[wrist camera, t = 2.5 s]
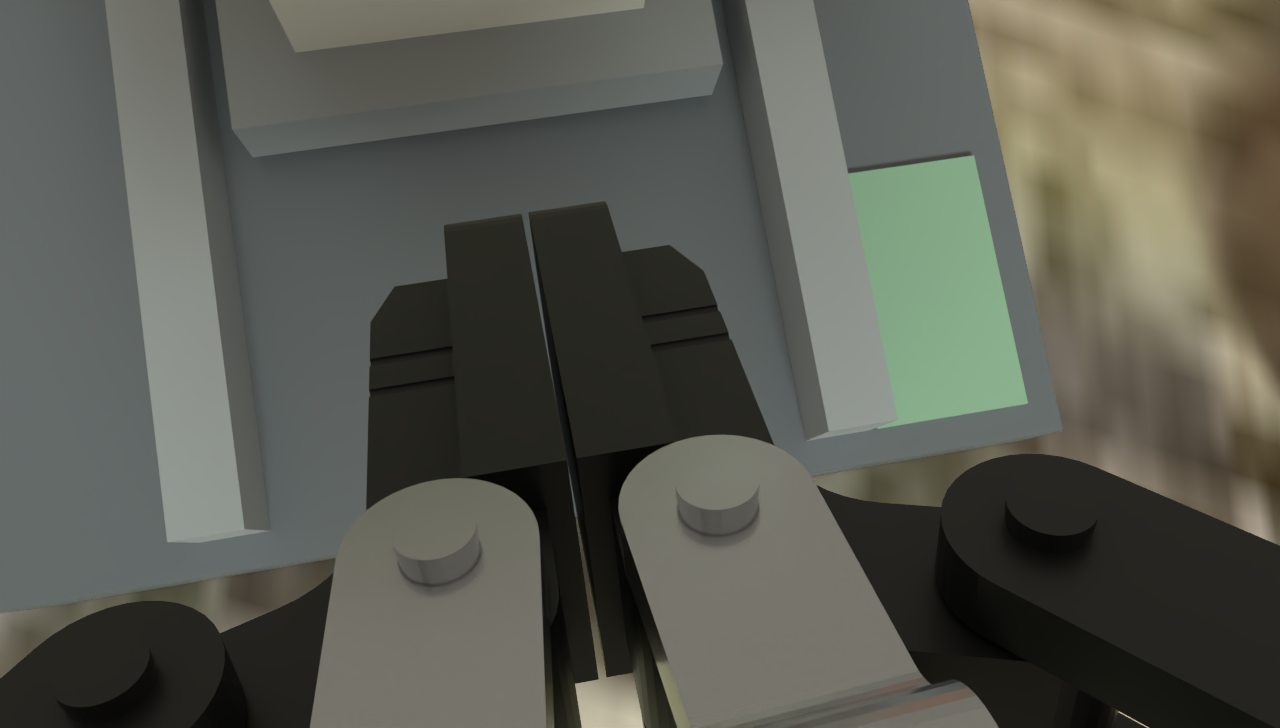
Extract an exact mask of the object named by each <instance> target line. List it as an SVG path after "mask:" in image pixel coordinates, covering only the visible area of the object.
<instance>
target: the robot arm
mask: <svg viewBox="0 0 1280 728" xmlns="http://www.w3.org/2000/svg"><path fill="white" fill-rule="evenodd" d="M529 222H530V229H531V237H532V243H533V250H534V257H535V264H536V271H537V278H538V285H539V291H540V298H541V305H542V312H543V319H544V326H545V333H546V339H547V346H548V353H549V359H548V354H547V348H546V343H545V338H544V332H543V327H542V321H541V316H540V310H539V305H538V299H537V294H536V289H535V283H534V278H533V272H532V267H531V261H530V256H529V250H528V245H527V240H526V234H525V229H524V223H523V218H522V214H515V215H508V216H501V217H494V218H487V219H481V220H474V221H467V222H460V223H453V224H446V225H444V239H445V252H446V266H447V279H441V280H434V281H428V282H421V283H415V284H408V285H401V286H395V287H394V288H393V289H392V291H391V292H390V294H389V295H388V297H387V298H386V300H385V301H384V303H383V304H382V306H381V307H380V309H379V310H378V312H377V313H376V315H375V316H374V318H373V319H372V321H371V322H370V363H371V366H369V392H370V397H369V407H368V450H367V493H366V511H365V512H364V513H363V514H362V515H361V516H360V517H359V518H358V519H357V520H356V521H355V522H354V523H353V525H352V526H351V527H350V529H349V530H348V531H347V533H346V534H345V536H344V538H343V540H342V542H341V544H340V546H339V549H338V553H337V557H336V561H335V568H334V573H333V574H332V575H331V576H330V577H329V578H327V579H326V580H325V581H323V582H322V583H321V584H320V585H318V586H317V587H316V588H315V589H313V590H311V591H310V592H308V593H307V594H305V595H303V596H302V597H300V598H299V599H297V600H295V601H293V602H291V603H289V604H287V605H285V606H282V607H280V608H278V609H276V610H274V611H271V612H269V613H267V614H264V615H262V616H260V617H257V618H255V619H253V620H250V621H248V622H246V623H243V624H241V625H239V626H236V627H234V628H232V629H229V630H227V631H225V632H222V633H219V632H218V630H217V628H216V627H215V625H214V624H213V623H212V622H211V621H210V620H209V619H208V618H207V617H206V616H205V615H203V614H202V613H200V612H198V611H197V610H195V609H193V608H191V607H188V606H185V605H182V604H178V603H172V602H165V601H141V602H134V603H127V604H122V605H118V606H114V607H111V608H107V609H104V610H101V611H99V612H96V613H93V614H91V615H88V616H86V617H84V618H82V619H80V620H78V621H76V622H74V623H72V624H70V625H68V626H66V627H65V628H63V629H62V630H60V631H58V632H57V633H55V634H54V635H52V636H51V637H49V638H48V639H47V640H46V641H44V642H43V643H42V644H40V645H39V646H38V647H37V648H35V649H34V650H33V651H32V652H31V653H30V654H28V655H27V656H26V657H25V658H24V659H23V660H21V661H20V662H19V663H18V664H17V665H16V666H15V667H13V668H12V669H11V670H10V671H9V672H8V673H7V674H5V675H4V676H3V677H2V678H1V679H0V728H582V727H581V720H580V714H579V708H578V701H577V695H576V688H575V683H581V682H586V681H592V680H597V679H598V672H597V665H596V658H595V651H594V644H593V637H592V630H591V623H590V616H589V609H588V602H587V595H586V589H585V582H584V575H583V568H582V561H581V554H580V547H579V540H578V533H577V526H576V519H575V512H574V505H573V498H572V491H573V496H574V502H575V507H576V512H577V518H578V523H579V529H580V534H581V540H582V545H583V551H584V556H585V561H586V567H587V572H588V578H589V583H590V589H591V594H592V600H593V605H594V611H595V616H596V621H597V627H598V632H599V638H600V643H601V649H602V654H603V660H604V665H605V670H606V676H607V677H611V676H616V675H622V674H627V673H632V672H633V674H634V679H635V684H636V689H637V694H638V698H639V703H640V708H641V713H642V722H643V728H1146V727H1144V726H1142V725H1140V724H1139V723H1137V722H1135V721H1133V720H1131V719H1129V718H1128V717H1126V716H1124V715H1122V714H1120V713H1118V711H1120V712H1122V713H1124V714H1126V715H1127V716H1129V717H1131V718H1133V719H1135V720H1137V721H1138V722H1140V723H1142V724H1144V725H1146V726H1148V727H1149V728H1280V546H1279V545H1276V544H1274V543H1272V542H1269V541H1267V540H1265V539H1262V538H1260V537H1258V536H1255V535H1253V534H1251V533H1248V532H1246V531H1244V530H1241V529H1239V528H1237V527H1234V526H1232V525H1230V524H1227V523H1225V522H1223V521H1220V520H1218V519H1216V518H1213V517H1211V516H1209V515H1206V514H1204V513H1202V512H1199V511H1197V510H1195V509H1192V508H1190V507H1188V506H1185V505H1183V504H1181V503H1178V502H1176V501H1174V500H1171V499H1169V498H1167V497H1164V496H1162V495H1160V494H1157V493H1155V492H1153V491H1150V490H1148V489H1146V488H1143V487H1141V486H1139V485H1136V484H1134V483H1132V482H1129V481H1127V480H1125V479H1122V478H1120V477H1118V476H1115V475H1113V474H1111V473H1108V472H1106V471H1104V470H1101V469H1099V468H1097V467H1094V466H1091V465H1088V464H1086V463H1083V462H1080V461H1076V460H1072V459H1068V458H1064V457H1059V456H1052V455H1044V454H1019V455H1008V456H1004V457H999V458H994V459H991V460H988V461H985V462H983V463H980V464H978V465H976V466H974V467H972V468H970V469H969V470H967V471H965V472H964V473H963V474H962V475H960V476H959V477H958V478H957V479H956V480H955V481H954V482H953V483H952V485H951V486H950V487H949V489H948V490H947V492H946V495H945V497H944V499H943V502H942V507H931V506H917V505H903V504H889V503H878V502H870V501H862V500H858V499H853V498H849V497H845V496H842V495H839V494H836V493H833V492H830V491H828V490H826V489H823V488H821V487H819V486H817V485H816V484H815V482H814V480H813V478H812V477H811V476H810V474H809V473H808V471H807V470H806V468H805V467H804V466H803V465H802V464H801V463H800V462H799V461H798V460H797V459H796V458H794V457H793V456H791V455H790V454H788V453H787V452H785V451H784V450H782V449H780V448H778V447H776V446H775V445H774V443H773V441H772V438H771V436H770V433H769V431H768V428H767V426H766V423H765V421H764V418H763V416H762V413H761V411H760V408H759V406H758V404H757V401H756V399H755V396H754V394H753V391H752V389H751V386H750V384H749V381H748V379H747V376H746V374H745V371H744V369H743V366H742V364H741V362H740V359H739V357H738V354H737V352H736V349H735V347H734V344H733V342H732V339H731V340H730V338H729V332H728V329H727V327H726V324H725V322H724V320H723V317H722V315H721V312H720V311H718V306H717V302H716V300H715V297H714V295H713V292H712V290H711V287H710V285H709V282H708V280H707V278H706V275H705V273H704V271H703V270H702V269H701V268H700V267H698V266H697V265H696V264H694V263H693V262H692V261H690V260H689V259H688V258H686V257H685V256H684V255H682V254H681V253H680V252H678V251H677V250H676V249H675V248H673V247H672V246H671V245H665V246H658V247H652V248H645V249H638V250H632V251H625V252H622V251H621V248H620V245H619V241H618V238H617V235H616V232H615V228H614V225H613V222H612V219H611V215H610V212H609V209H608V206H607V203H606V201H602V202H595V203H588V204H581V205H574V206H568V207H561V208H554V209H547V210H540V211H533V212H529ZM549 360H550V365H549ZM550 366H551V370H550ZM551 372H552V376H551ZM552 379H553V381H552ZM553 385H554V387H553ZM554 391H555V392H554ZM555 397H556V398H555ZM567 463H568V464H567ZM568 469H569V471H568ZM569 474H570V477H569ZM570 480H571V484H570ZM571 485H572V491H571Z"/></svg>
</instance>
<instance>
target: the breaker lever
mask: <svg viewBox="0 0 1280 728" xmlns="http://www.w3.org/2000/svg"><path fill="white" fill-rule="evenodd" d="M215 1H216V9H217V16H218V24H219V32H220V40H221V47H222V55H223V63H224V71H225V78H226V86H227V94H228V102H229V110H230V117H231V125H232V130H233V132H234V133H235V134H236V136H237V137H238V138H239V140H240V141H241V142H242V144H243V145H244V146H245V148H246V149H247V150H248V152H249V153H250V154H251V155H252V157H260V156H268V155H275V154H282V153H289V152H297V151H304V150H311V149H319V148H326V147H333V146H341V145H348V144H355V143H363V142H370V141H377V140H385V139H392V138H399V137H406V136H414V135H421V134H428V133H436V132H443V131H450V130H458V129H465V128H472V127H480V126H487V125H494V124H501V123H509V122H516V121H523V120H531V119H538V118H545V117H553V116H560V115H567V114H575V113H582V112H589V111H597V110H604V109H611V108H618V107H626V106H633V105H640V104H648V103H655V102H662V101H670V100H677V99H684V98H692V97H699V96H706V95H712V93H713V90H714V88H715V85H716V82H717V79H718V76H719V74H720V71H721V68H722V65H723V61H722V55H721V50H720V45H719V40H718V34H717V29H716V24H715V18H714V13H713V8H712V3H711V0H215Z"/></svg>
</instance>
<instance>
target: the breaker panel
mask: <svg viewBox="0 0 1280 728" xmlns="http://www.w3.org/2000/svg"><path fill="white" fill-rule="evenodd" d="M711 3H712V8H713V13H714V18H715V24H716V29H717V34H718V40H719V45H720V50H721V55H722V61H723V65H722V68H721V71H720V74H719V76H718V79H717V82H716V85H715V88H714V90H713V93H712V95H706V96H699V97H692V98H684V99H677V100H670V101H662V102H655V103H648V104H640V105H633V106H626V107H618V108H611V109H604V110H597V111H589V112H582V113H575V114H567V115H560V116H553V117H545V118H538V119H531V120H523V121H516V122H509V123H501V124H494V125H487V126H480V127H472V128H465V129H458V130H450V131H443V132H436V133H428V134H421V135H414V136H406V137H399V138H392V139H385V140H377V141H370V142H363V143H355V144H348V145H341V146H333V147H326V148H319V149H311V150H304V151H297V152H289V153H282V154H275V155H268V156H260V157H252V155H251V154H250V153H249V152H248V150H247V149H246V148H245V146H244V145H243V144H242V142H241V141H240V140H239V138H238V137H237V136H236V134H235V133H234V132H233V130H232V125H231V117H230V110H229V102H228V94H227V86H226V78H225V71H224V63H223V55H222V47H221V40H220V32H219V24H218V16H217V9H216V1H215V0H0V613H4V612H13V611H21V610H30V609H38V608H46V607H52V606H58V605H64V604H70V603H76V602H81V601H87V600H93V599H99V598H105V597H111V596H116V595H122V594H128V593H134V592H140V591H146V590H152V589H157V588H163V587H169V586H175V585H181V584H187V583H193V582H198V581H204V580H210V579H216V578H222V577H228V576H233V575H239V574H245V573H251V572H257V571H263V570H269V569H274V568H280V567H286V566H292V565H298V564H304V563H309V562H315V561H321V560H327V559H333V558H336V557H337V553H338V549H339V546H340V544H341V542H342V540H343V538H344V536H345V534H346V533H347V531H348V530H349V529H350V527H351V526H352V525H353V523H354V522H355V521H356V520H357V519H358V518H359V517H360V516H361V515H362V514H363V513H364V512H365V511H366V493H367V450H368V407H369V397H370V392H369V366H371V363H370V322H371V321H372V319H373V318H374V316H375V315H376V313H377V312H378V310H379V309H380V307H381V306H382V304H383V303H384V301H385V300H386V298H387V297H388V295H389V294H390V292H391V291H392V289H393V288H394V287H395V286H401V285H408V284H415V283H421V282H428V281H434V280H441V279H447V266H446V252H445V239H444V225H446V224H453V223H460V222H467V221H474V220H481V219H487V218H494V217H501V216H508V215H515V214H522V218H523V223H524V229H525V234H526V240H527V245H528V250H529V256H530V261H531V267H532V272H533V278H534V283H535V289H536V294H537V299H538V305H539V310H540V316H541V321H542V327H543V332H544V338H545V343H546V348H547V354H548V359H549V353H548V346H547V339H546V333H545V326H544V319H543V312H542V305H541V298H540V291H539V285H538V278H537V271H536V264H535V257H534V250H533V243H532V237H531V229H530V222H529V212H533V211H540V210H547V209H554V208H561V207H568V206H574V205H581V204H588V203H595V202H602V201H606V203H607V206H608V209H609V212H610V215H611V219H612V222H613V225H614V228H615V232H616V235H617V238H618V241H619V245H620V248H621V251H622V252H625V251H632V250H638V249H645V248H652V247H658V246H665V245H671V246H672V247H673V248H675V249H676V250H677V251H678V252H680V253H681V254H682V255H684V256H685V257H686V258H688V259H689V260H690V261H692V262H693V263H694V264H696V265H697V266H698V267H700V268H701V269H702V270H703V271H704V273H705V275H706V278H707V280H708V282H709V285H710V287H711V290H712V292H713V295H714V297H715V300H716V302H717V306H718V311H720V312H721V315H722V317H723V320H724V322H725V324H726V327H727V329H728V332H729V338H730V340H731V339H732V342H733V344H734V347H735V349H736V352H737V354H738V357H739V359H740V362H741V364H742V366H743V369H744V371H745V374H746V376H747V379H748V381H749V384H750V386H751V389H752V391H753V394H754V396H755V399H756V401H757V404H758V406H759V408H760V411H761V413H762V416H763V418H764V421H765V423H766V426H767V428H768V431H769V433H770V436H771V438H772V441H773V443H774V445H775V446H776V447H778V448H780V449H782V450H784V451H785V452H787V453H788V454H790V455H791V456H793V457H794V458H796V459H797V460H798V461H799V462H800V463H801V464H802V465H803V466H804V467H805V468H806V470H807V471H808V473H809V474H810V476H811V477H812V476H818V475H824V474H830V473H836V472H842V471H848V470H853V469H859V468H865V467H871V466H877V465H883V464H888V463H894V462H900V461H906V460H912V459H918V458H924V457H929V456H935V455H941V454H947V453H953V452H959V451H964V450H970V449H976V448H982V447H988V446H994V445H1000V444H1005V443H1011V442H1016V441H1021V440H1025V439H1029V438H1034V437H1038V436H1042V435H1047V434H1051V433H1056V432H1060V431H1063V427H1062V423H1061V418H1060V414H1059V409H1058V405H1057V400H1056V396H1055V391H1054V387H1053V382H1052V378H1051V373H1050V369H1049V364H1048V360H1047V355H1046V351H1045V346H1044V341H1043V337H1042V332H1041V328H1040V323H1039V319H1038V314H1037V310H1036V305H1035V301H1034V296H1033V292H1032V287H1031V283H1030V278H1029V274H1028V269H1027V265H1026V260H1025V256H1024V251H1023V247H1022V242H1021V238H1020V233H1019V229H1018V224H1017V219H1016V215H1015V210H1014V206H1013V201H1012V197H1011V192H1010V188H1009V183H1008V179H1007V174H1006V170H1005V165H1004V161H1003V156H1002V152H1001V147H1000V143H999V138H998V134H997V129H996V125H995V120H994V116H993V111H992V107H991V102H990V97H989V93H988V88H987V84H986V79H985V75H984V70H983V66H982V61H981V57H980V52H979V48H978V43H977V39H976V34H975V30H974V25H973V21H972V16H971V12H970V7H969V3H968V0H711ZM549 365H550V360H549ZM550 370H551V366H550ZM551 376H552V372H551ZM552 381H553V379H552ZM553 387H554V385H553ZM554 392H555V391H554ZM555 398H556V397H555ZM567 464H568V463H567ZM568 471H569V469H568ZM569 477H570V474H569ZM570 484H571V480H570ZM571 491H572V485H571ZM572 498H573V505H574V512H575V517H577V512H576V507H575V502H574V496H573V491H572Z"/></svg>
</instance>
